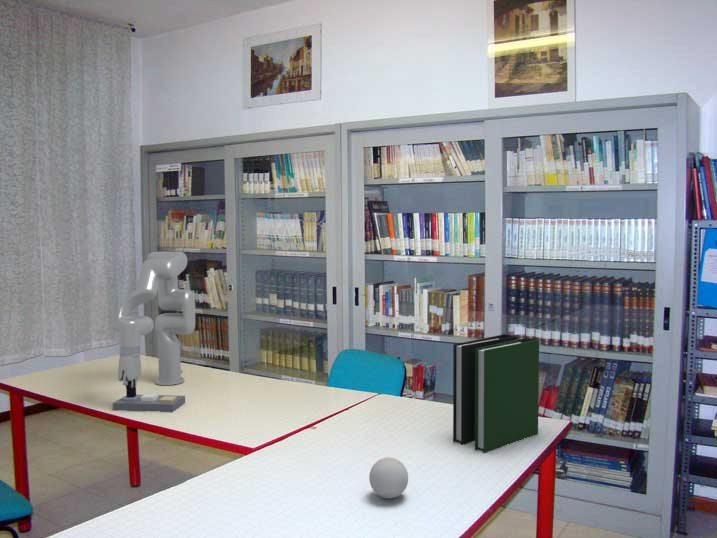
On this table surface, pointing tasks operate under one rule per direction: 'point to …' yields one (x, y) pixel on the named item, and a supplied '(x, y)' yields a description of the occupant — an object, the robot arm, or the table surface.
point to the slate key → (131, 398)
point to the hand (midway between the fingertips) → (131, 396)
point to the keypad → (149, 404)
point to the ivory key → (149, 397)
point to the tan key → (168, 399)
